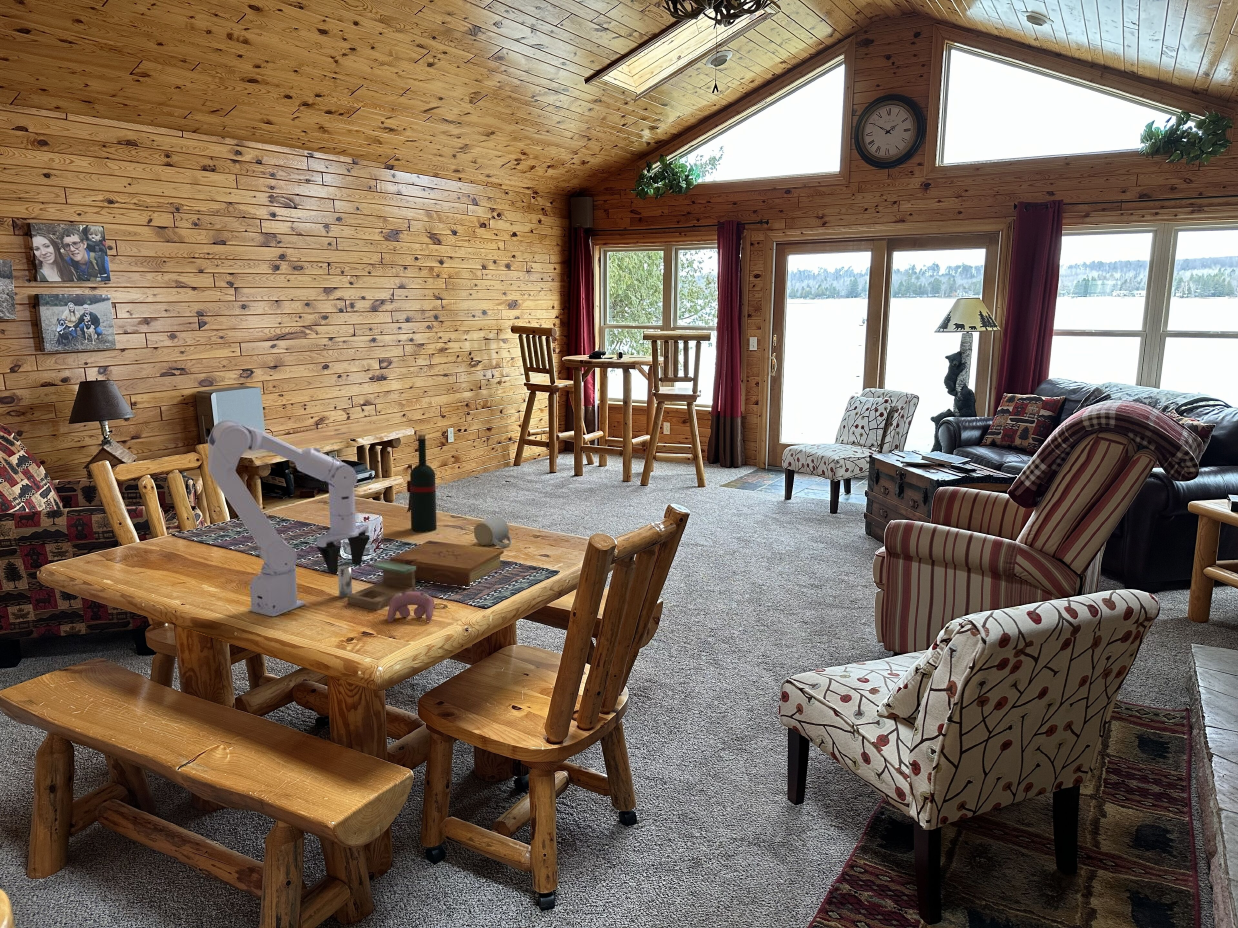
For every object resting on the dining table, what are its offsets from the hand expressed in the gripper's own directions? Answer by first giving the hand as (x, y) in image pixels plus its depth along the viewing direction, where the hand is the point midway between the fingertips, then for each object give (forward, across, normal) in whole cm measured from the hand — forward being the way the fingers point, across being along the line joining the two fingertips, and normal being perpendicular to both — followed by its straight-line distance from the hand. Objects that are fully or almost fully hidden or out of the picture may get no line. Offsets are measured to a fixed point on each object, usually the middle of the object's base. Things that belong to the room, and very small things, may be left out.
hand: (345, 568), depth 193 cm
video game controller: (+7, -4, -23) cm, 25 cm away
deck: (+7, +2, -9) cm, 11 cm away
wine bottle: (+7, +57, +25) cm, 63 cm away
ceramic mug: (+7, +55, -5) cm, 55 cm away
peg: (+7, 0, 0) cm, 7 cm away
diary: (+7, +26, -10) cm, 29 cm away
